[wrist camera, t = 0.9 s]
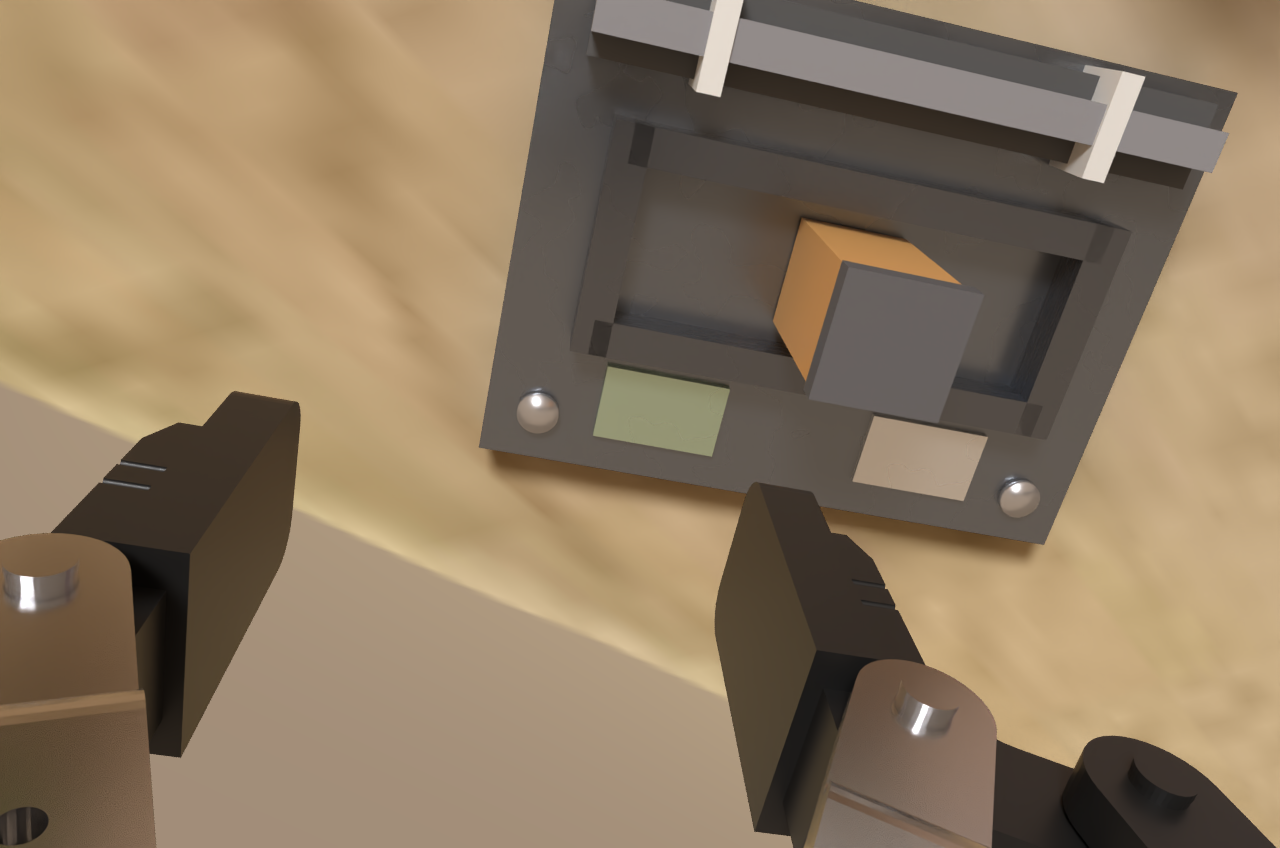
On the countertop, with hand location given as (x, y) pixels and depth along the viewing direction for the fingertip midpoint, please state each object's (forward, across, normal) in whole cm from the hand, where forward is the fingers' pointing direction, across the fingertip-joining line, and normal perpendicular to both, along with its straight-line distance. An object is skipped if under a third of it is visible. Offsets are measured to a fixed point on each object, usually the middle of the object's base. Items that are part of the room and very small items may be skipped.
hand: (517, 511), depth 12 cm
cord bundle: (+16, -8, -6) cm, 19 cm away
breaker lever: (+16, -8, 0) cm, 18 cm away
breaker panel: (+18, -8, 0) cm, 19 cm away
